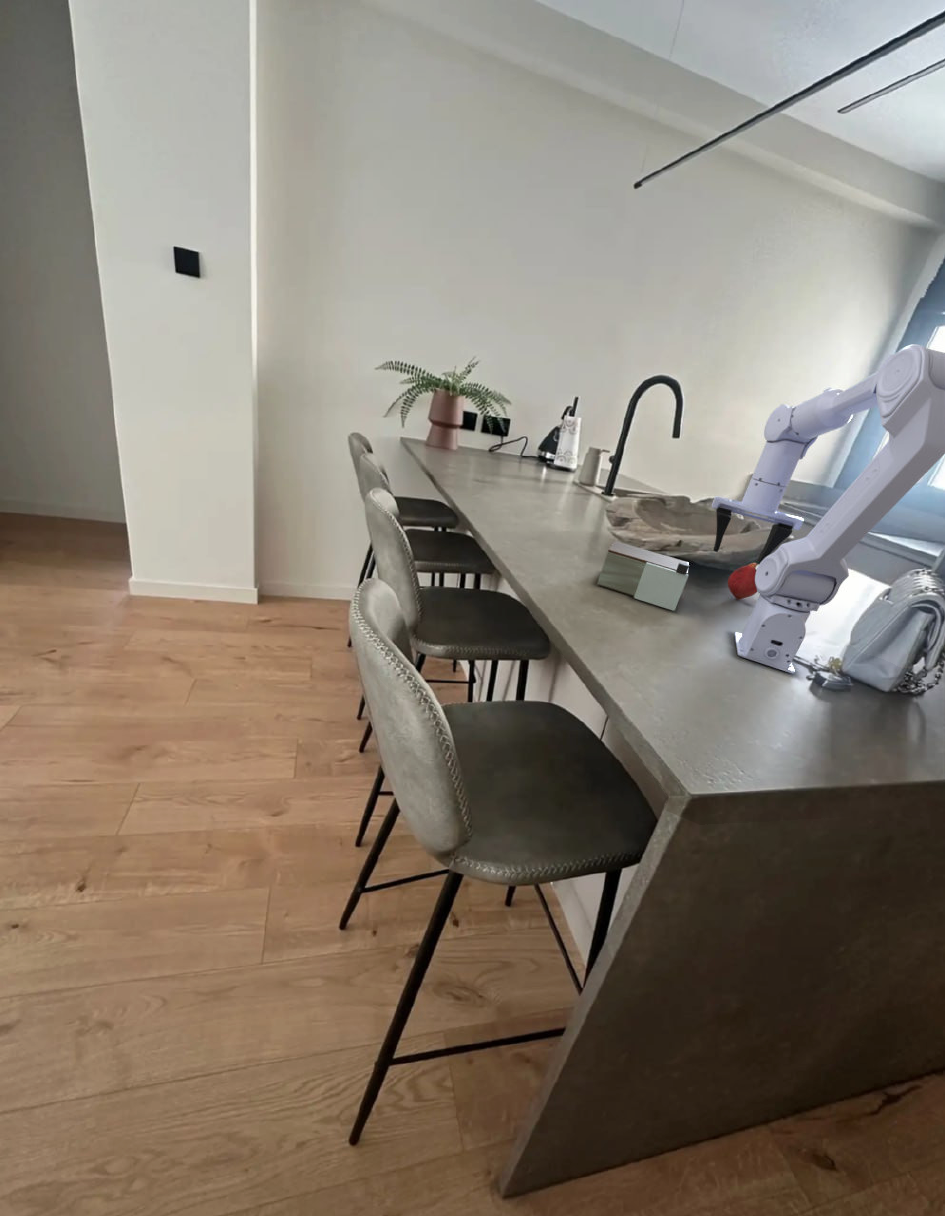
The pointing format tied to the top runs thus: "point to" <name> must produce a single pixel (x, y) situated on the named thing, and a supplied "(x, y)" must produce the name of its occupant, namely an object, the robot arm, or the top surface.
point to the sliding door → (662, 585)
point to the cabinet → (630, 567)
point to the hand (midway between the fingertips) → (737, 556)
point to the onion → (743, 582)
